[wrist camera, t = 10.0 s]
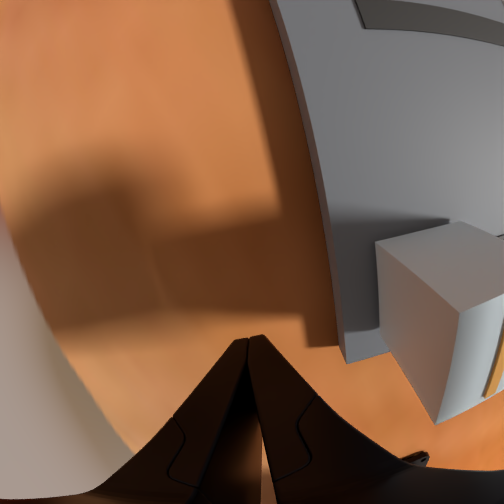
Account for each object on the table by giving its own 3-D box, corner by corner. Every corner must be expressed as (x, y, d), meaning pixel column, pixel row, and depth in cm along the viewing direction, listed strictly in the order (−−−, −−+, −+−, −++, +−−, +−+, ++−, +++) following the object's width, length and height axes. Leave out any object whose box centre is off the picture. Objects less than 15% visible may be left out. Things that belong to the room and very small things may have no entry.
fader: (456, 308, 10) (527, 376, 5) (379, 334, 10) (436, 428, 6) (460, 221, 9) (557, 268, 4) (374, 241, 9) (462, 315, 4)
